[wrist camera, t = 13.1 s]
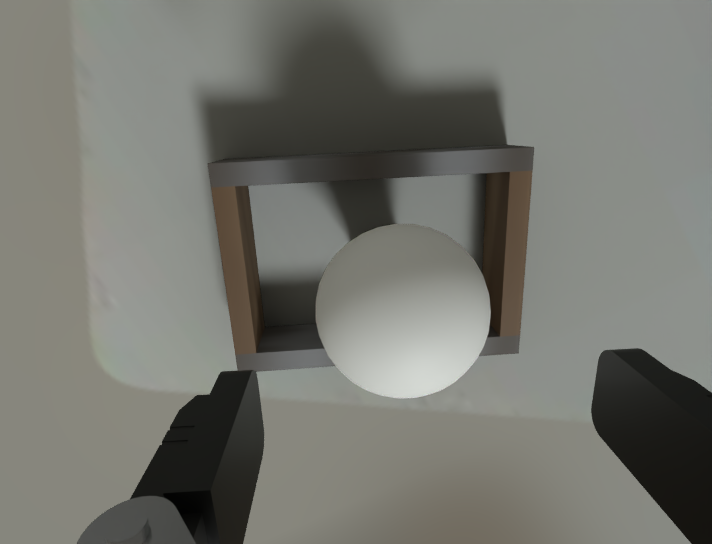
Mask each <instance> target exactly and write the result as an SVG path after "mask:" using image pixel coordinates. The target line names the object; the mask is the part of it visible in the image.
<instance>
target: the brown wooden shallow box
mask: <svg viewBox="0 0 712 544" xmlns="http://www.w3.org/2000/svg"><path fill="white" fill-rule="evenodd" d="M533 156H534V147H526V146H514V145H497V146H477V147H457V148H437V149H417V150H397V151H377V152H357V153H337V154H317V155H297V156H277V157H257V158H237V159H223V160H219V161H215V162H212V163H208V168H209V175H210V182H211V189H212V196H213V203H214V210H215V217H216V224H217V231H218V238H219V245H220V251H221V258H222V265H223V272H224V279H225V286H226V293H227V300H228V307H229V314H230V321H231V327H232V334H233V341H234V348H235V355H236V362H237V369H238V371H241V370H255V372H257V371H272V370H286V369H300V368H315V367H329V366H335V364H334V363H333V362H332V360H331V359H330V358H329V356H328V355H327V352H326V350H325V348H324V346H323V344H322V341H321V339H320V337H319V333H318V329H317V324H303V325H288V326H273V327H265V324H264V316H263V307H262V299H261V291H260V282H259V274H258V266H257V257H256V249H255V240H254V232H253V224H252V215H251V207H250V198H249V190H248V186H250V185H269V184H288V183H307V182H326V181H345V180H364V179H383V178H402V177H421V176H440V175H459V174H478V173H487V176H486V198H485V221H484V243H483V266H482V274H483V277H484V280H485V283H486V286H487V289H488V293H489V297H490V309H491V316H490V325H489V333H488V336H487V339H486V342H485V345H484V347H483V349H482V351H481V352H480V354H479V356H487V355H501V354H515V353H519V341H520V328H521V315H522V301H523V288H524V275H525V262H526V248H527V235H528V222H529V209H530V195H531V182H532V169H533Z"/></svg>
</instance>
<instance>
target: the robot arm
mask: <svg viewBox="0 0 712 544" xmlns="http://www.w3.org/2000/svg"><path fill="white" fill-rule="evenodd" d="M591 413H592V420H593V423H594V426H595V429H596V431H597V433H598V434H599V436H600V437H601V438H602V439H603V440H604V442H605V443H606V444H607V445H608V446H609V447H610V449H611V450H612V451H613V452H614V453H615V455H616V456H617V457H618V458H619V459H620V460H621V462H622V463H623V464H624V465H625V466H626V467H627V469H629V471H630V472H631V473H632V474H633V476H634V477H635V478H636V479H637V480H638V481H639V483H640V484H641V485H642V486H643V487H644V488H645V490H646V491H647V492H648V493H649V494H650V495H651V497H652V498H653V499H654V500H655V501H656V502H657V504H658V505H659V506H660V507H661V508H662V510H663V511H664V512H665V513H666V514H667V515H668V517H669V518H670V519H671V520H672V521H673V522H674V524H676V526H677V527H678V528H679V529H680V531H681V532H682V533H683V534H684V535H685V536H686V538H687V539H688V540H689V541H690V542H691V543H692V544H712V393H711V392H710V391H708V390H707V389H706V388H704V387H703V386H701V385H700V384H698V383H697V382H696V381H694V380H692V379H690V378H688V377H685V376H683V375H681V374H679V373H677V372H674V371H672V370H670V369H669V368H667V367H666V366H665V365H663V364H662V363H661V362H659V361H658V360H656V359H655V358H654V357H652V356H651V355H650V354H648V353H647V352H645V351H644V350H642V349H638V348H636V349H618V350H605V351H603V352H602V353H601V355H600V357H599V360H598V366H597V373H596V380H595V387H594V394H593V400H592V408H591ZM263 449H264V427H263V420H262V411H261V403H260V395H259V387H258V379H257V374H256V372H255V370H241V371H223V372H221V373H220V374H219V376H218V378H217V380H216V382H215V385H214V387H213V389H212V391H211V393H210V395H197V396H195V397H194V398H193V399H192V400H191V401H190V402H188V403H187V404H186V405H185V406H184V407H182V409H180V410H179V412H178V414H177V415H176V417H175V419H174V421H173V423H172V424H171V426H170V430H169V431H168V432H167V433H166V435H165V437H164V439H163V441H162V445H160V446H159V448H158V450H157V451H156V453H155V455H154V457H153V459H152V460H151V462H150V464H149V466H148V468H147V469H146V471H145V473H144V475H143V477H142V479H141V480H140V482H139V484H138V486H137V487H136V489H135V491H134V493H133V495H132V497H131V498H130V500H127V501H124V502H122V503H120V504H118V505H116V506H114V507H112V508H110V509H109V510H107V511H106V512H104V513H103V514H101V515H100V516H99V517H98V518H96V519H95V520H94V521H93V522H92V523H91V524H90V525H89V526H88V527H87V528H86V530H85V531H84V532H83V534H82V535H81V537H80V538H79V540H78V542H77V544H243V541H244V537H245V532H246V528H247V523H248V518H249V514H250V510H251V505H252V501H253V496H254V492H255V488H256V483H257V479H258V474H259V470H260V465H261V460H262V456H263Z"/></svg>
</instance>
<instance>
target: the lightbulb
mask: <svg viewBox="0 0 712 544" xmlns="http://www.w3.org/2000/svg"><path fill="white" fill-rule="evenodd" d="M490 316H491V309H490V297H489V293H488V289H487V286H486V283H485V280H484V277H483V274H482V273H481V271H480V269H479V267H478V266H477V264H476V262H475V260H474V259H473V258H472V257H471V256H470V255H469V254H468V252H467V251H466V250H465V249H464V248H463V247H462V246H461V245H460V244H458V243H457V242H455V241H454V240H453V239H451V238H450V237H449V236H447V235H446V234H443V233H441V232H439V231H437V230H434V229H432V228H429V227H425V226H420V225H415V224H392V225H387V226H381V227H377V228H375V229H372V230H369V231H367V232H364V233H362V234H361V235H359V236H358V237H356V238H354V239H353V240H351V241H350V242H348V243H347V244H346V245H345V246H344V247H343V248H342V249H341V250H340V251H339V252H338V253H337V254H336V255H335V256H334V258H333V259H332V260H331V262H330V263H329V265H328V266H327V267H326V269H325V271H324V274H323V276H322V278H321V281H320V283H319V287H318V292H317V297H316V324H317V329H318V333H319V337H320V339H321V341H322V344H323V346H324V348H325V350H326V352H327V355H328V356H329V358H330V359H331V360H332V362H333V363H334V364H335V366H336V367H337V368H338V369H339V370H340V371H341V372H342V373H343V374H344V375H345V376H346V377H347V378H348V379H349V380H351V381H352V382H353V383H354V384H356V385H358V386H360V387H361V388H363V389H365V390H367V391H369V392H372V393H375V394H378V395H382V396H388V397H394V398H416V397H421V396H427V395H429V394H432V393H435V392H438V391H440V390H442V389H444V388H446V387H447V386H449V385H451V384H453V383H454V382H455V381H456V380H458V379H459V378H460V377H461V376H463V375H464V374H465V373H466V371H467V370H468V369H469V368H470V367H471V366H472V364H473V363H474V362H475V361H476V359H477V358H478V356H479V354H480V352H481V351H482V349H483V347H484V345H485V342H486V339H487V336H488V333H489V325H490Z"/></svg>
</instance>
